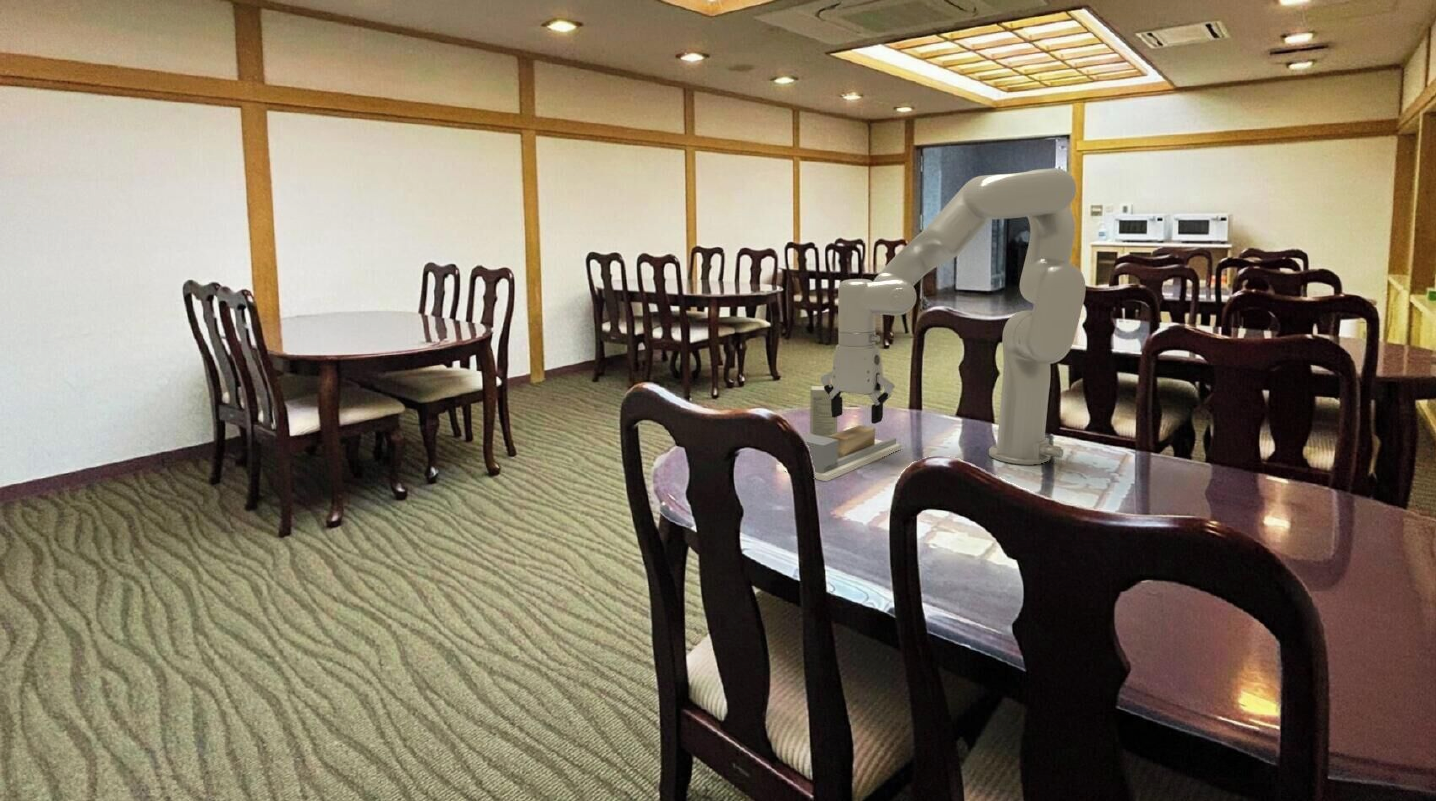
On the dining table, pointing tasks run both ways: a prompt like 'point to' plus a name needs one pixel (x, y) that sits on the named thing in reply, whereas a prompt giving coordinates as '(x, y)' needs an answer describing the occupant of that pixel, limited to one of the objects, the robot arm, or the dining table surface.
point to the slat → (854, 440)
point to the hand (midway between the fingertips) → (856, 419)
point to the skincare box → (821, 413)
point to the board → (832, 467)
